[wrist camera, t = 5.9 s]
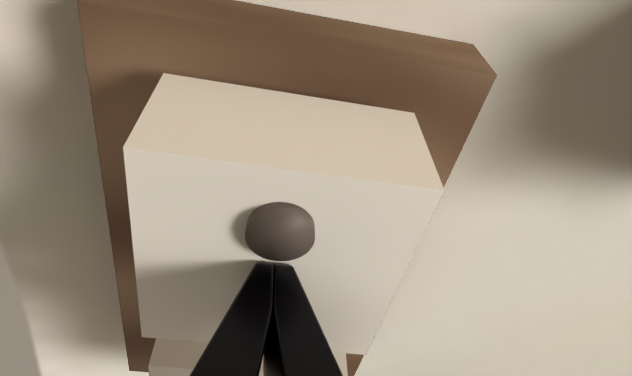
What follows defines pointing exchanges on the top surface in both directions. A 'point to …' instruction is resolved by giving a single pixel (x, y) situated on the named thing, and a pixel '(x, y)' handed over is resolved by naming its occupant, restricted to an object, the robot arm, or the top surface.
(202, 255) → the tile two
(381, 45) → the brown flat slab
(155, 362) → the tile one
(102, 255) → the top surface
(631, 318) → the top surface
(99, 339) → the top surface
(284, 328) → the robot arm
